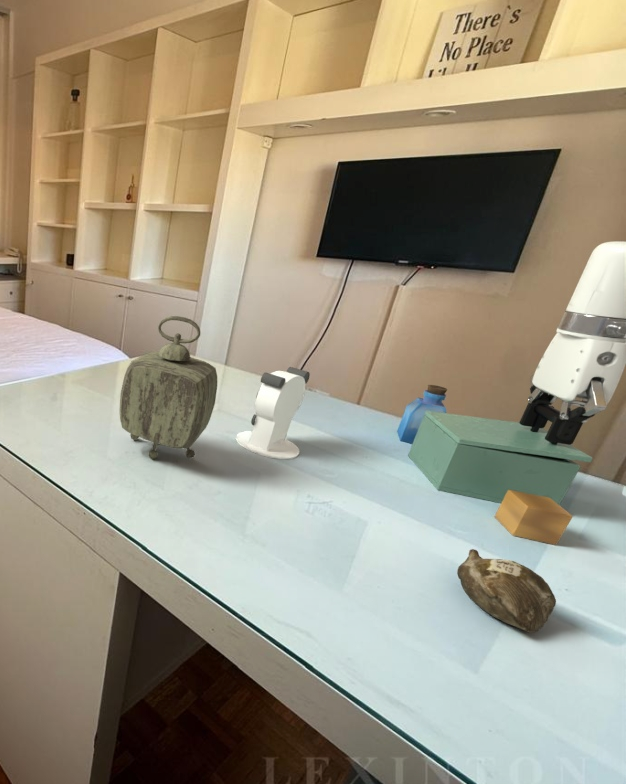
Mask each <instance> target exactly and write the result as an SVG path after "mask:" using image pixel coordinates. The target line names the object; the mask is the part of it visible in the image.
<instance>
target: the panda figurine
mask: <svg viewBox="0 0 626 784" xmlns="http://www.w3.org/2000/svg"><path fill="white" fill-rule="evenodd" d="M310 375H311V373H310V372H309V371H307V370H304V369H300V368H296V367H292V366H289V367H287V368H286V371H285V370H276V371H273V372H271V373H270V372H264V373H263V374H262V375H261V378H260V383H261V386H260V387H259V389H258V391H257V393H256V397H255V403H254V413H255V414H253V416H252V417H251V421H250V423H251V426H253V428H252V430H244V431H240V432H238V433H237V434H236V437H235V439H236V443H238V445H240V447H242V448H244V449H246V450H247V451H249V452H251V453H254V454H256V455H259V456H262V457H266V458H271V459H277V460H291V459H295V458H297V457H298V456H300V448H299V447H298V446H297V445H296V444H295V443H293V442H292V441H290V440H288V439H287V434H288V431H289V428H290V425H291V423H292V420H293V418H294V417H295V415H296V414H297V413H298V412H299V409H300V407H301V405H302V404H303V400H304V397H305V393H306V384H308V382H309V380H310Z"/></svg>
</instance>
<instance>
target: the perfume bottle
mask: <svg viewBox="0 0 626 784" xmlns="http://www.w3.org/2000/svg"><path fill="white" fill-rule="evenodd" d="M447 391H448V388H446V387H444V386H440V385H436V384H428V385H427V389H425V390H424V392H423V394H422V396H424V397H423V398H422V397H417V398H415V399H413V401H411V402H410V403H408V404H407V405H406V407H405V410H404V411H403V415H402V418H401V420H400V423H399V425H398V428H397V430H396V432H397V435H398V436H397V437H398V438H399V441H400V442H403V443H407V444H411V445H412V444H413V441H414V439H415V437H416V434H417V432H418V429H419V427H420V424H421V422H422V419H423V417H424V415H425V412H426V411H432V412H440V413H448V412H447V408H446V406H445V404H444V403H443V401H445V400H446V397H447V394H446V393H447Z"/></svg>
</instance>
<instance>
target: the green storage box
mask: <svg viewBox="0 0 626 784" xmlns="http://www.w3.org/2000/svg"><path fill="white" fill-rule="evenodd" d="M407 457H408V458H409V459H410V460H411V461H412V462H413V463H414V465H415V466H416V467H417V468H418V469H419V470H420V472H421V473H422V474H423V475H424V477H426V479H427V480H428V481H429V482H430V483H431V484H432V485H433V487H435V489H436V490H437V491H441V492H446V493H450V494H455V495H460V496H464V497H465V496H466V497H469V498H475V499H478V500H479V499H480V500H484V501H488V502H489V501H490V502H493V503H499V504H501V503H502V501H503V499H504V497H505V495H506V493H507V491H508V490H513V491H518V492H523V493H528V494H533V495H538V496H543V497H548V498H551V499H552V500H553V501H554V502H556V503H557V504H558V505H559V506H561V503H562V501H563V500H564V497H565V496H566V495H567V492H568V491H569V488H570V487H571V485H572V484H573V481H574V480H575V478H576V476H577V474H578V473H579V471H580V469H581V467H582V465H580V464H578V463H576V462H575V461H574V460H570V459H563V458H556V457H549V456H542V455H535V454H528V453H521V452H514V451H507V450H500V449H493V448H486V447H479V446H472V445H465V444H458V443H457V442H456V441H455V440H454V439H453V438H451V437H450V436H449V435H448V434H447V433H446V432H444V431H443V430H442V429H441V428H440V427H439V426H437V425H436V424H435V423H434V422H433V421H432V420H430V419H429V418H428V417H427V416H426V415H424V417H423V419H422V422H421V424H420V427H419V429H418V432H417V434H416V437H415V439H414V441H413V444H411V446H410V448H409V451H408V455H407Z"/></svg>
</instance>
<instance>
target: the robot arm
mask: <svg viewBox="0 0 626 784" xmlns="http://www.w3.org/2000/svg"><path fill="white" fill-rule="evenodd" d="M625 368H626V241H624V240H623V241H620V240H619V241H616V240H615V241H607V242H603V243H600V244H599V245H597V246H596V247H595V248H594V249H593V250H592V252H591V254H590V256H589V258H588V260H587V263H586V265H585V267H584V269H583V270H582V273H581V275H580V278H579V280H578V282H577V284H576V287H575V289H574V291H573V294H572V296H571V298H570V300H569V301H568V304H567V307H566V309H565V311H564V313H563V315H562V317H561V319H560V322H559V324H558V326H557V328H556V334H554V337H553V338H552V340H550V343H549V344H548V346H547V348H546V349H545V351H544V353H543V355H542V357H541V359H540V361H539V363H538V365H537V367H536V368H535V371H534V373H533V374H532V375H531V376H530V378H529V381H530V388H529V393H530V394H529V396H528V397H527V402H528V403H527V405H526V407H525V409H524V412H523V414H522V416H521V418H520V419H519V421H518V422H519V423H520V424H521V425H523V426H529V427H532V425H533V423H534V420H535V418H536V416H537V414H536V413H535V412H534V407H535V406H536V405H538V404H547V405H549V406H551V407H553V408H555V406H553V404H554V403H555V402H556V401H557V399H560V400H561V405H560V410H559V411H560V418H558V417H555V418H554V420H553V422H551V424H550V427H549V428H548V430H547V431H548V432H547V434H546V437H545V440H547V441H549V442H555V443H561V444H568V445H572V444H574V442H575V440H576V438H577V436H578V435H579V432H580V430H581V428H582V426H583V424H586V423H588V422H589V419H591V418H593V417H594V416H595V415H597V414H599V413H601V412H603V411H605V410H606V409H607V407H608V404H609V403H610V401H611V400H612V397H613V396H614V393H615V391H616V389H617V388H618V385H619V382H620V380H621V378H622V375H623V373H624V371H625ZM577 398H578V399H581V400H577ZM572 406H577V407H576V408H574V409H572ZM548 422H549V420H547V419H545V418H544V419H543V421H542V424H541V426H540V428H543V429H545V427H546V425H547V423H548Z"/></svg>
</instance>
